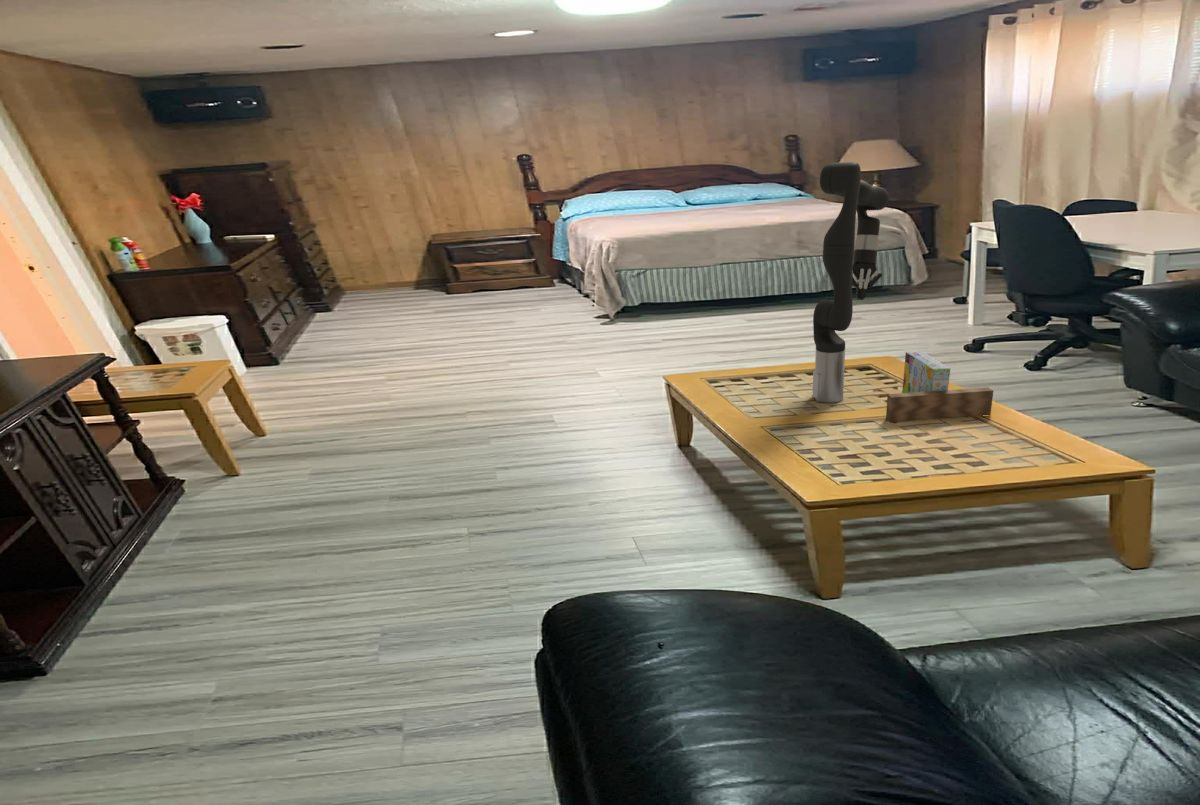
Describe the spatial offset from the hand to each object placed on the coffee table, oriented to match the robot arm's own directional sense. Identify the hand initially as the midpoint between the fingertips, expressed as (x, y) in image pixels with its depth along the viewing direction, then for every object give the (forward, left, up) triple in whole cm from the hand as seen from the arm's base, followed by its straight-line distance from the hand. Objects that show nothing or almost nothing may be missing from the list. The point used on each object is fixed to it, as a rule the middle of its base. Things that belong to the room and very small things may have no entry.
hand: (860, 299), depth 238 cm
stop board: (+10, -42, -29) cm, 52 cm away
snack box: (+11, -30, -29) cm, 43 cm away
